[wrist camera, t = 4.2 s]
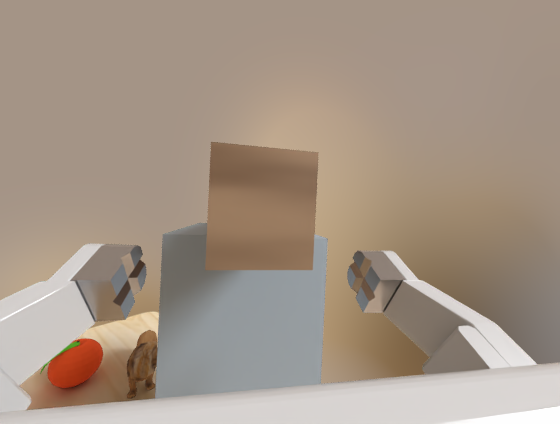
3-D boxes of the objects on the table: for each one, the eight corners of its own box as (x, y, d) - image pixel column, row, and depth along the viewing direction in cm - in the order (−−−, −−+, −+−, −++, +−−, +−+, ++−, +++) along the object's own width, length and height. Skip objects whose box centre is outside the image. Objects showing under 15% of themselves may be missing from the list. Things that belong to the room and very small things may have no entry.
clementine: (50, 412, 32) (52, 363, 32) (27, 394, 34) (30, 349, 34) (110, 375, 39) (112, 335, 39) (88, 363, 42) (90, 326, 42)
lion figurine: (166, 401, 34) (169, 344, 34) (125, 418, 31) (128, 356, 31) (156, 350, 46) (158, 308, 46) (126, 358, 43) (128, 314, 43)
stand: (310, 606, 17) (327, 238, 17) (143, 653, 15) (162, 234, 15) (280, 435, 30) (290, 226, 30) (189, 448, 28) (199, 222, 28)
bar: (312, 270, 7) (318, 152, 7) (205, 270, 7) (211, 141, 7) (260, 225, 29) (261, 195, 29) (233, 224, 28) (234, 193, 28)
